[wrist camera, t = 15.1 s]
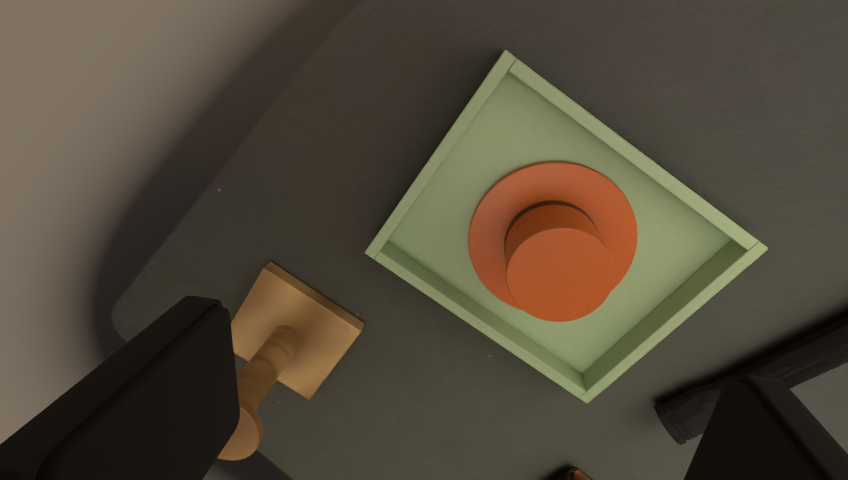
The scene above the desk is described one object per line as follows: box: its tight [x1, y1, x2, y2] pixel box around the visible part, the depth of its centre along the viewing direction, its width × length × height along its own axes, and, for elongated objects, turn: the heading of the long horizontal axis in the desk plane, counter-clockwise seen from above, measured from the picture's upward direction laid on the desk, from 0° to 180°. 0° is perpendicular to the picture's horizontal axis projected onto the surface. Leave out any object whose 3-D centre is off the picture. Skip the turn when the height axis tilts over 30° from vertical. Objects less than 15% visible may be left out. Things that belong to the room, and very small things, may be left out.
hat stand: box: [217, 262, 365, 460], centre depth 33 cm, size 9×9×11 cm
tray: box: [365, 50, 768, 403], centre depth 30 cm, size 20×16×3 cm
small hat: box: [468, 161, 638, 322], centre depth 28 cm, size 11×11×6 cm
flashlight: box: [654, 316, 848, 445], centre depth 31 cm, size 3×16×3 cm, turn 133°
